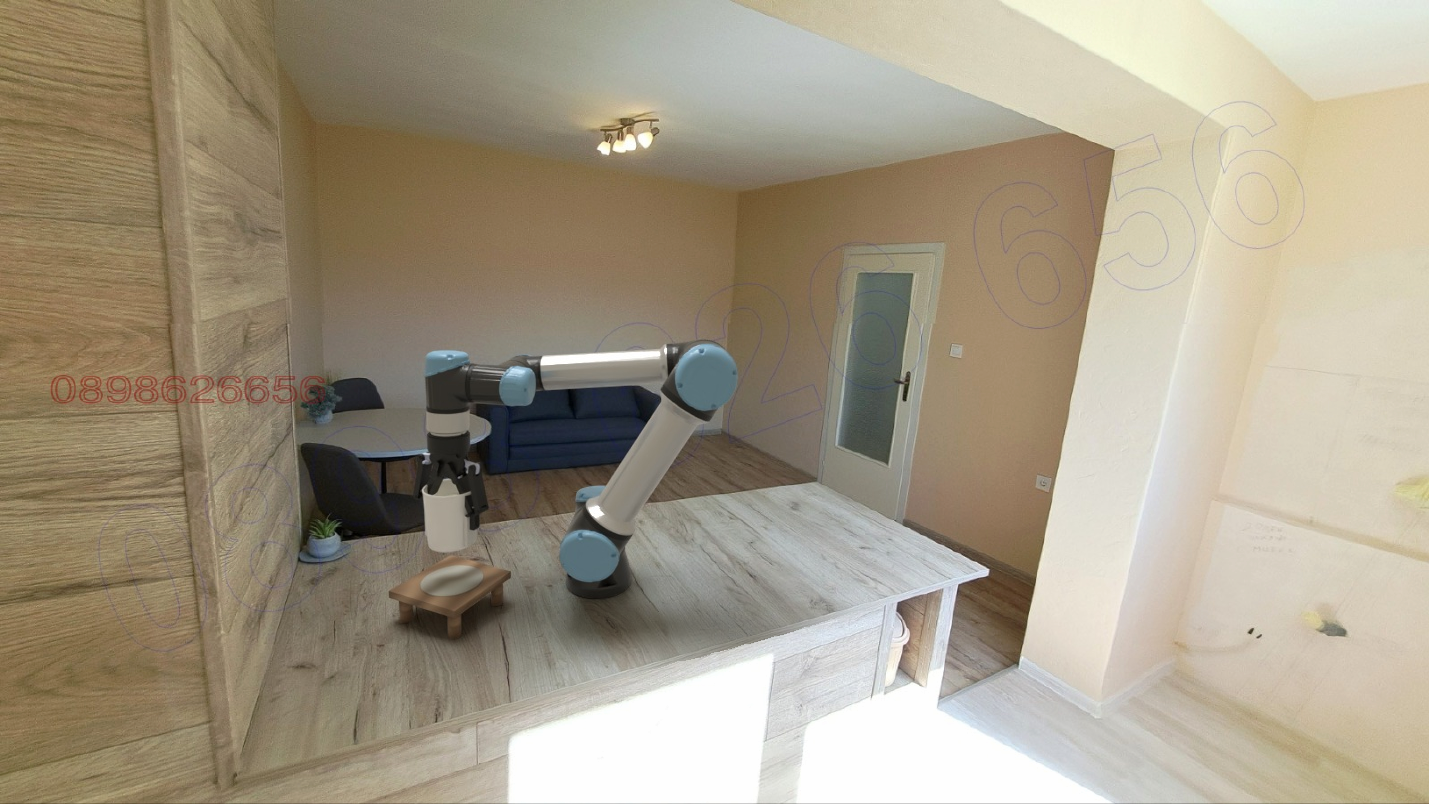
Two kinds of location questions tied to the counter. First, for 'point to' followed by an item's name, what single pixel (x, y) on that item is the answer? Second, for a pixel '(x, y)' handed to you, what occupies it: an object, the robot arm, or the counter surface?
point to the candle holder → (445, 517)
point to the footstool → (450, 590)
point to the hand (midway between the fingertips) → (451, 538)
